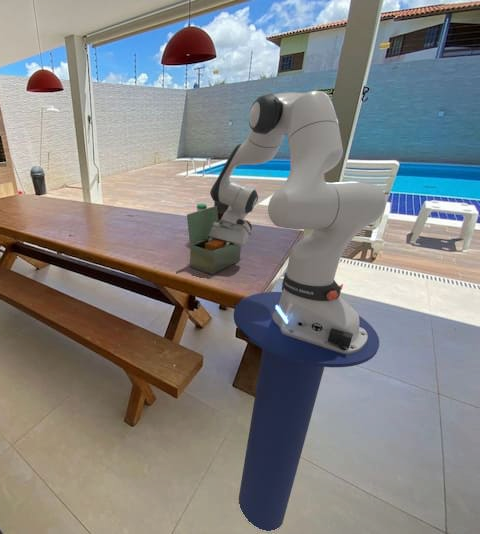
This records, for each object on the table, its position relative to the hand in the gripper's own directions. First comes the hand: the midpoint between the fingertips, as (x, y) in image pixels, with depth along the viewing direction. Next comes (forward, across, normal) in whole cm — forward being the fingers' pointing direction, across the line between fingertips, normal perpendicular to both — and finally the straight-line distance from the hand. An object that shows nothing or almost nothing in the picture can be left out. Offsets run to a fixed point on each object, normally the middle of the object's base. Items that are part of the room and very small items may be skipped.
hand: (215, 249), depth 130 cm
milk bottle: (-8, -22, +18) cm, 30 cm away
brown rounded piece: (-26, -16, +35) cm, 46 cm away
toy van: (+3, 0, +4) cm, 5 cm away
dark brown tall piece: (-14, -12, +23) cm, 29 cm away
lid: (-7, -7, -7) cm, 12 cm away
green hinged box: (+4, 0, +5) cm, 7 cm away
